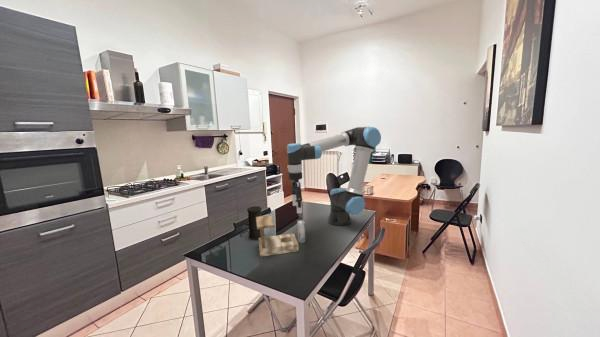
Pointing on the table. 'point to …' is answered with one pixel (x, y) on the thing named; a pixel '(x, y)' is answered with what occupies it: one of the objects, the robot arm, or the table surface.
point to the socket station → (274, 239)
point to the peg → (301, 231)
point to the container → (254, 222)
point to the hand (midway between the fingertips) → (297, 209)
